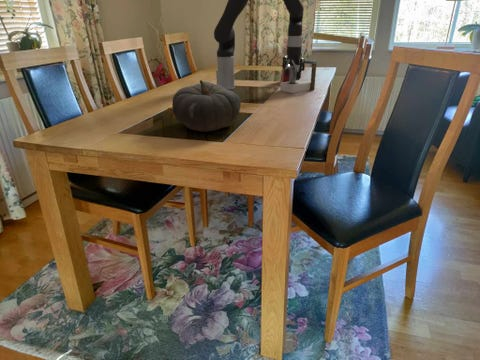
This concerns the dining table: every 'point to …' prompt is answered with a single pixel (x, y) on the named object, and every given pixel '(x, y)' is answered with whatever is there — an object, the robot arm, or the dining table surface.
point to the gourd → (206, 107)
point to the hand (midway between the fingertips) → (292, 78)
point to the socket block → (295, 86)
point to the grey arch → (313, 73)
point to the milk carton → (283, 78)
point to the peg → (292, 75)
